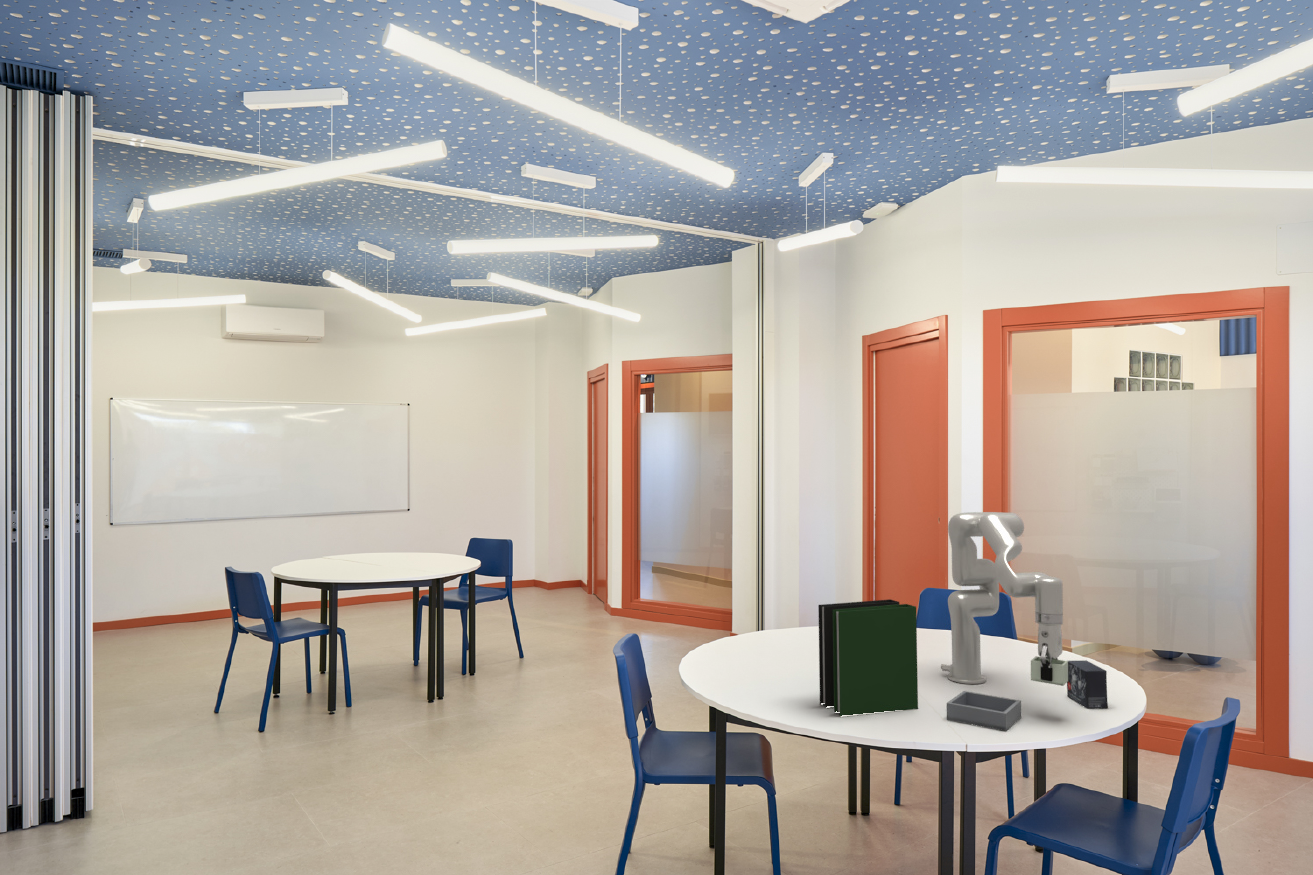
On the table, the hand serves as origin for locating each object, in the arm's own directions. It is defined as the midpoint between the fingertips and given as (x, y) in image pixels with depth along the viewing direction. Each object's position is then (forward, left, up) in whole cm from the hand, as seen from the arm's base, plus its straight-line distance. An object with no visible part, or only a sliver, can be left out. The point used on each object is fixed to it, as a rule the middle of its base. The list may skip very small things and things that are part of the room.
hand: (1049, 677), depth 242 cm
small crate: (0, 0, -1) cm, 1 cm away
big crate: (-16, -12, -12) cm, 23 cm away
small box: (+5, +24, -12) cm, 27 cm away
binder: (-49, -22, -12) cm, 55 cm away
